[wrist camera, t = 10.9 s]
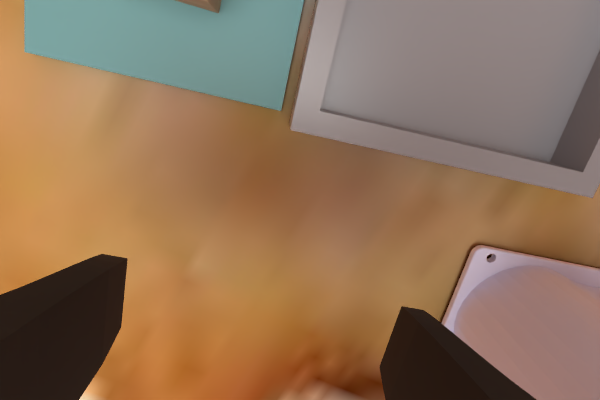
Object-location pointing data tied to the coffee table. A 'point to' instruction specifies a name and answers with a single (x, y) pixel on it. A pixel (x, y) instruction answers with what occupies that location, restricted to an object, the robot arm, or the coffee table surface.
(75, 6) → the teal board
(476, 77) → the parts bin
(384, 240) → the coffee table surface
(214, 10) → the maple block
